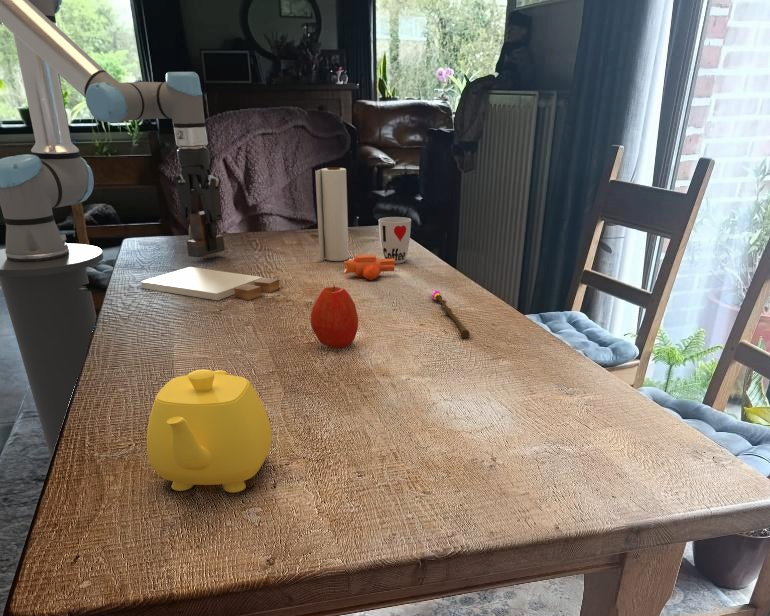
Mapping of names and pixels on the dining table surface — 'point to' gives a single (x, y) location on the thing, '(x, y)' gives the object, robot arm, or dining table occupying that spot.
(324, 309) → the apple
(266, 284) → the tan wooden block
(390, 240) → the cup
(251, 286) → the brown wooden block
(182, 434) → the teapot
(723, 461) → the dining table surface
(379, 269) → the orange toy bird
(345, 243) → the paper towel roll
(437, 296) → the magic wand
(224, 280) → the board
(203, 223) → the wooden toy block
